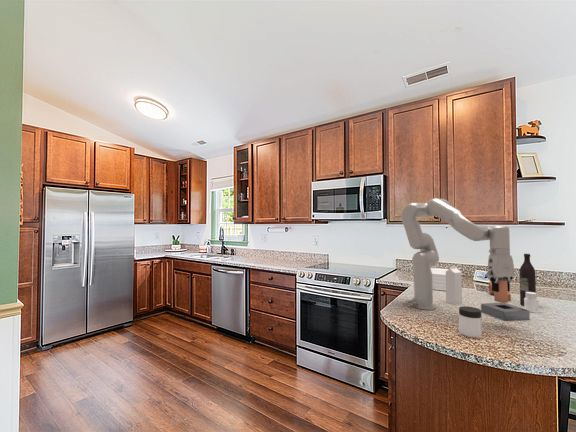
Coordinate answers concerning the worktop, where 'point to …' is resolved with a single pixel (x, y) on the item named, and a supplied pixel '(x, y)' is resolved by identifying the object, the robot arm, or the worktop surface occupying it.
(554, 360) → the worktop surface
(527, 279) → the wine bottle
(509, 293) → the crank
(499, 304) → the bore housing
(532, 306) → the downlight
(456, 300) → the milk
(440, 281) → the plate stack
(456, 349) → the worktop surface
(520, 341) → the worktop surface
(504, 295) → the orange grey-topped cylinder
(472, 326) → the jar
